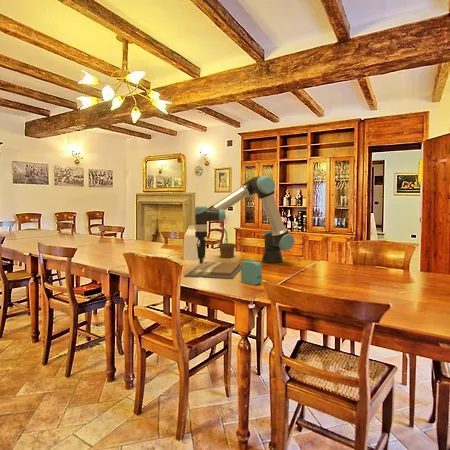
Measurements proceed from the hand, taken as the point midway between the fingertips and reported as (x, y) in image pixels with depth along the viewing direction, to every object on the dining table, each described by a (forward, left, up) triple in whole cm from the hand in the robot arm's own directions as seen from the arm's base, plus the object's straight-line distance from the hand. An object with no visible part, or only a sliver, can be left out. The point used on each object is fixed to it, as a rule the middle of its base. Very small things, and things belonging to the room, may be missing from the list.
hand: (201, 268), depth 211 cm
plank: (-2, -7, -2) cm, 8 cm away
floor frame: (-8, -7, -3) cm, 11 cm away
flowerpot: (-3, -58, -4) cm, 58 cm away
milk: (+22, -48, -4) cm, 52 cm away
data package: (-34, +17, -4) cm, 38 cm away
